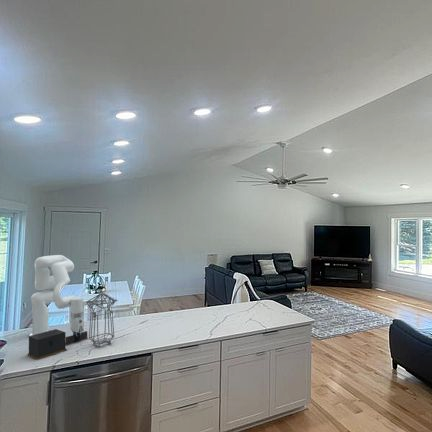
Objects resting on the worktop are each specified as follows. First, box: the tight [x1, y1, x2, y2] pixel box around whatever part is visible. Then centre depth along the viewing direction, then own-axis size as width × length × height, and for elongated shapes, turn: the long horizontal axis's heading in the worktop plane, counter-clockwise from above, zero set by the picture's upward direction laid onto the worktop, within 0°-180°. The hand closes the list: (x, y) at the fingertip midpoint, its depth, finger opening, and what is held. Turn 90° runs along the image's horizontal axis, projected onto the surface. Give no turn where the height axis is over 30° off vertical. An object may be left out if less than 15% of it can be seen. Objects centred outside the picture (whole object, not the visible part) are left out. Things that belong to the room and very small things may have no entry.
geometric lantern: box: [85, 292, 119, 348], centre depth 226 cm, size 16×16×35 cm
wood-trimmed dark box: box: [27, 328, 67, 360], centre depth 212 cm, size 14×16×12 cm
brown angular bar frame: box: [65, 330, 88, 346], centre depth 234 cm, size 13×14×5 cm
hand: (76, 341), depth 231 cm, fingers closed on brown angular bar frame, 1 cm apart
